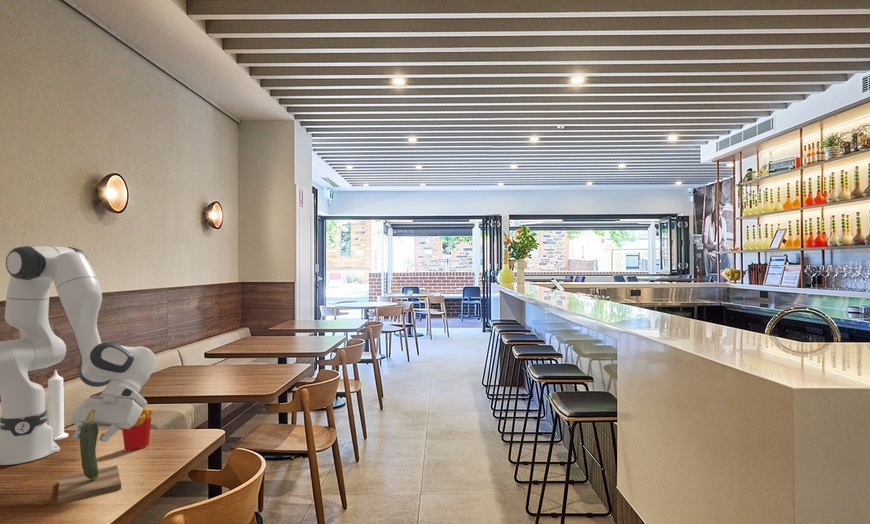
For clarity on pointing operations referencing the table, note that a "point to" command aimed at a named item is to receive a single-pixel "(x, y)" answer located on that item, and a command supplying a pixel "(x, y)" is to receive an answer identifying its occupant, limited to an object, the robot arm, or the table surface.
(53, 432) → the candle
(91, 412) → the vegetable
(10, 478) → the table surface
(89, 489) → the cutting board
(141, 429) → the french fries
